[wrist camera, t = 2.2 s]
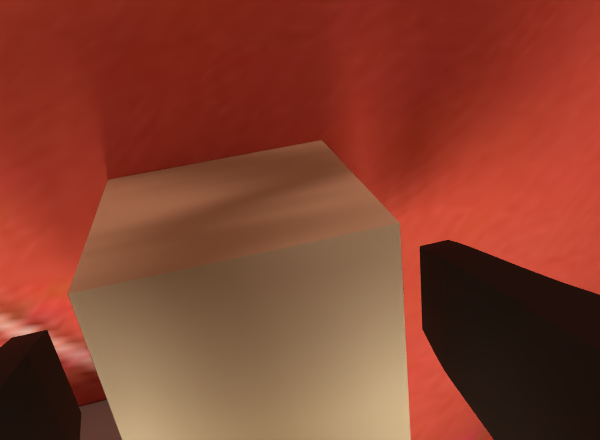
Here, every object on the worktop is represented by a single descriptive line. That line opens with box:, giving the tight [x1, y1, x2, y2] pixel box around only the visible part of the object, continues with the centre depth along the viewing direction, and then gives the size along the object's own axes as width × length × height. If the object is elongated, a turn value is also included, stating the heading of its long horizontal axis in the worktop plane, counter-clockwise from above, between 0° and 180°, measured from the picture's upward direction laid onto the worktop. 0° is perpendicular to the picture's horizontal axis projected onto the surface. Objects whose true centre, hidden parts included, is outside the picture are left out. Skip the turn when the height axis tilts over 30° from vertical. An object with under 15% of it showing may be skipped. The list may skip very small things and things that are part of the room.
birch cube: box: [68, 140, 411, 440], centre depth 11 cm, size 5×5×5 cm
